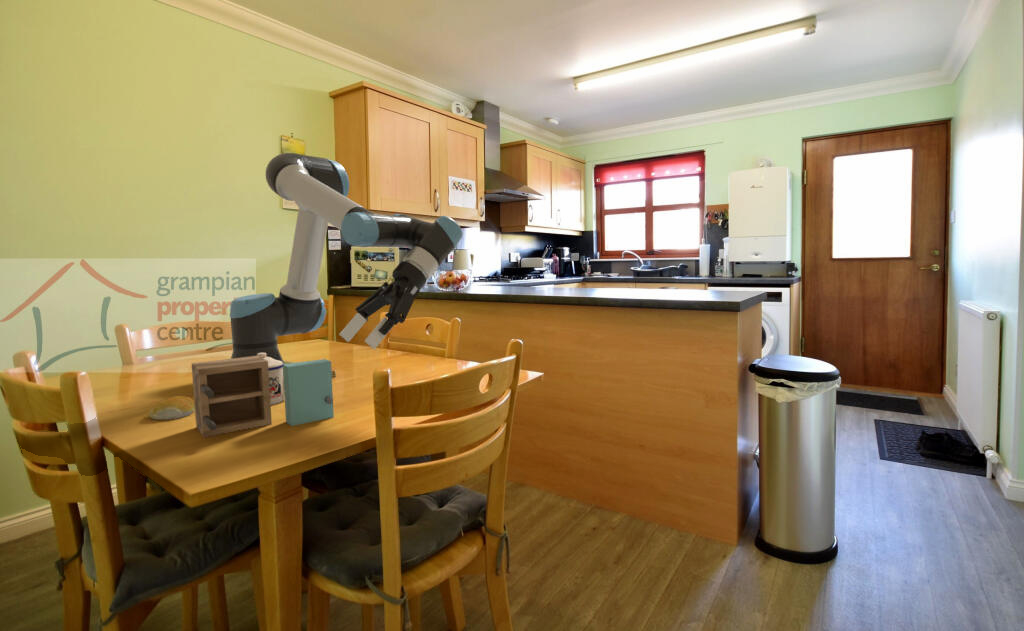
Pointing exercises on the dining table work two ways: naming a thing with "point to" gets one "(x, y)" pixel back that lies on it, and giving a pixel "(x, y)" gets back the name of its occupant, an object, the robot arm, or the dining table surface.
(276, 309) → the robot arm
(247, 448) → the dining table surface
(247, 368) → the cabinet
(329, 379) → the door
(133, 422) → the dining table surface
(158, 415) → the bread roll
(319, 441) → the dining table surface
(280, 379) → the teacup with lid
